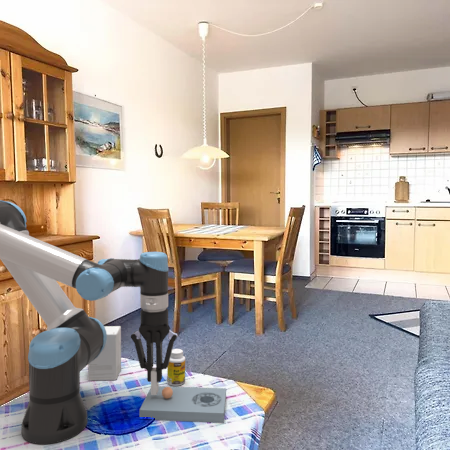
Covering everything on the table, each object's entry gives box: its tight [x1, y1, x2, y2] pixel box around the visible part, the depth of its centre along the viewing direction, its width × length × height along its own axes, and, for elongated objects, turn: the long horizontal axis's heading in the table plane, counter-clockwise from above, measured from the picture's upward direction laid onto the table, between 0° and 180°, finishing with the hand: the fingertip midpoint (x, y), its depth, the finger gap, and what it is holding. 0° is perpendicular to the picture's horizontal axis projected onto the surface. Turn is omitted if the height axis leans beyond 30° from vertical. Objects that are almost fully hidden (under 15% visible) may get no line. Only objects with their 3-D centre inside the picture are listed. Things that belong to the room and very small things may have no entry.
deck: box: [138, 385, 227, 424], centre depth 112 cm, size 22×14×2 cm, turn 87°
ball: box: [162, 387, 173, 399], centre depth 112 cm, size 3×3×3 cm
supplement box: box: [87, 325, 122, 381], centre depth 132 cm, size 9×9×15 cm
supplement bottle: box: [166, 348, 186, 387], centre depth 127 cm, size 6×6×10 cm
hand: (154, 392), depth 113 cm, fingers closed
